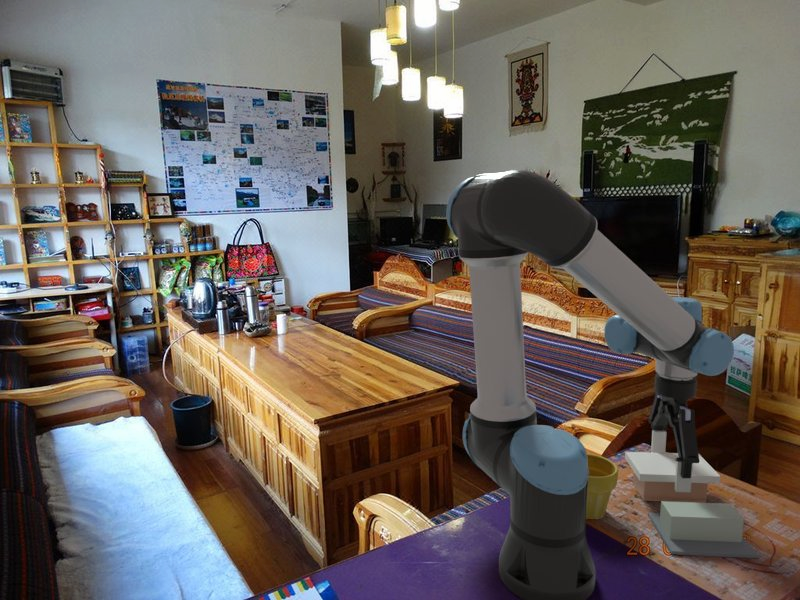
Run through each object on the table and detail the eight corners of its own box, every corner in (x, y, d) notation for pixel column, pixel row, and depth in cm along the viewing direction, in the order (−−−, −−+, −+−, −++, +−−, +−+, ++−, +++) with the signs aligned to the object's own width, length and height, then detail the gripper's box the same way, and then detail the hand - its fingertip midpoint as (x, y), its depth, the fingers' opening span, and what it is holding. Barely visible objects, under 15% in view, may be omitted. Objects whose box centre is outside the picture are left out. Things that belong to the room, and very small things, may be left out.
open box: (643, 500, 111) (644, 477, 111) (632, 483, 118) (634, 461, 117) (706, 502, 110) (708, 479, 109) (691, 485, 117) (693, 463, 116)
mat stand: (671, 554, 94) (672, 527, 93) (647, 515, 106) (649, 491, 105) (758, 558, 93) (760, 531, 92) (724, 518, 105) (726, 493, 104)
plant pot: (620, 505, 110) (623, 459, 108) (609, 531, 101) (611, 482, 100) (568, 492, 115) (569, 448, 114) (553, 515, 107) (554, 468, 105)
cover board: (639, 481, 109) (640, 474, 109) (625, 458, 119) (625, 451, 119) (719, 483, 108) (720, 476, 107) (698, 460, 117) (698, 453, 117)
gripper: (725, 396, 97) (716, 507, 101) (671, 358, 122) (666, 448, 125) (680, 395, 98) (673, 506, 102) (636, 357, 122) (631, 447, 126)
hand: (669, 474), depth 113 cm, fingers open, 13 cm apart
